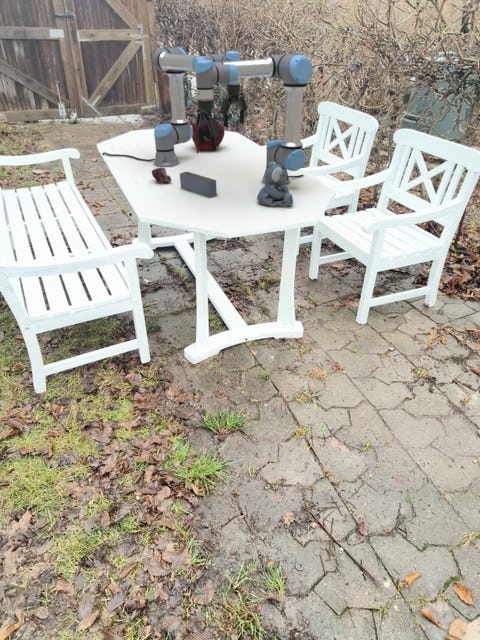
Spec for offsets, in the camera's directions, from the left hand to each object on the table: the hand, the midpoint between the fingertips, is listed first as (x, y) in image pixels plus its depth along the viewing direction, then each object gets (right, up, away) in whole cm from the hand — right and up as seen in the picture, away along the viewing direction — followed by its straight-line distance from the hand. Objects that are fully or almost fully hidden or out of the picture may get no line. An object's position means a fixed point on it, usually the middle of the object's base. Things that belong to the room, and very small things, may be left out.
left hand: (234, 125), depth 259 cm
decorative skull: (-20, +12, +67) cm, 70 cm away
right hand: (-12, -30, -43) cm, 54 cm away
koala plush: (+21, -52, -26) cm, 62 cm away
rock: (-43, -32, +3) cm, 53 cm away
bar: (-20, -42, -11) cm, 47 cm away
